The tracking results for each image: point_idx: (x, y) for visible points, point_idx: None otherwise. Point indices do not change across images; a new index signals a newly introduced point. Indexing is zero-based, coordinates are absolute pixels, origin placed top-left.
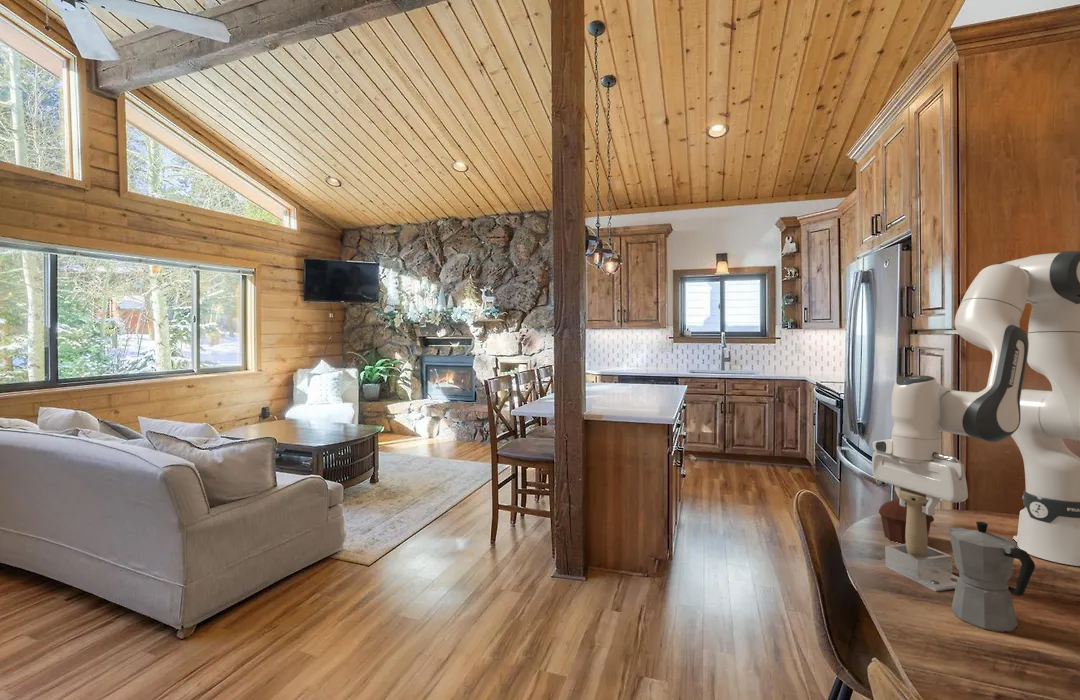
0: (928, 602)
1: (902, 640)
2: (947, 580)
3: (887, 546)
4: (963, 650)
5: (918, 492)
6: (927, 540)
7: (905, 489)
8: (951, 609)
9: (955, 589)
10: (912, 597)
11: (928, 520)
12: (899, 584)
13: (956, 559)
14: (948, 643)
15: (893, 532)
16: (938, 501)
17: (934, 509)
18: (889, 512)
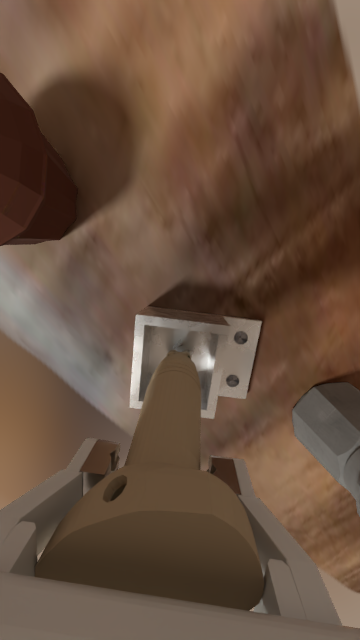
0: (261, 437)
1: (306, 546)
2: (236, 352)
3: (134, 406)
4: (356, 511)
5: (125, 543)
6: (197, 379)
7: (31, 549)
8: (295, 436)
9: (322, 464)
10: (240, 443)
11: (40, 153)
12: (201, 421)
13: None
14: (338, 511)
15: (23, 241)
16: (305, 562)
17: (250, 484)
18: None
